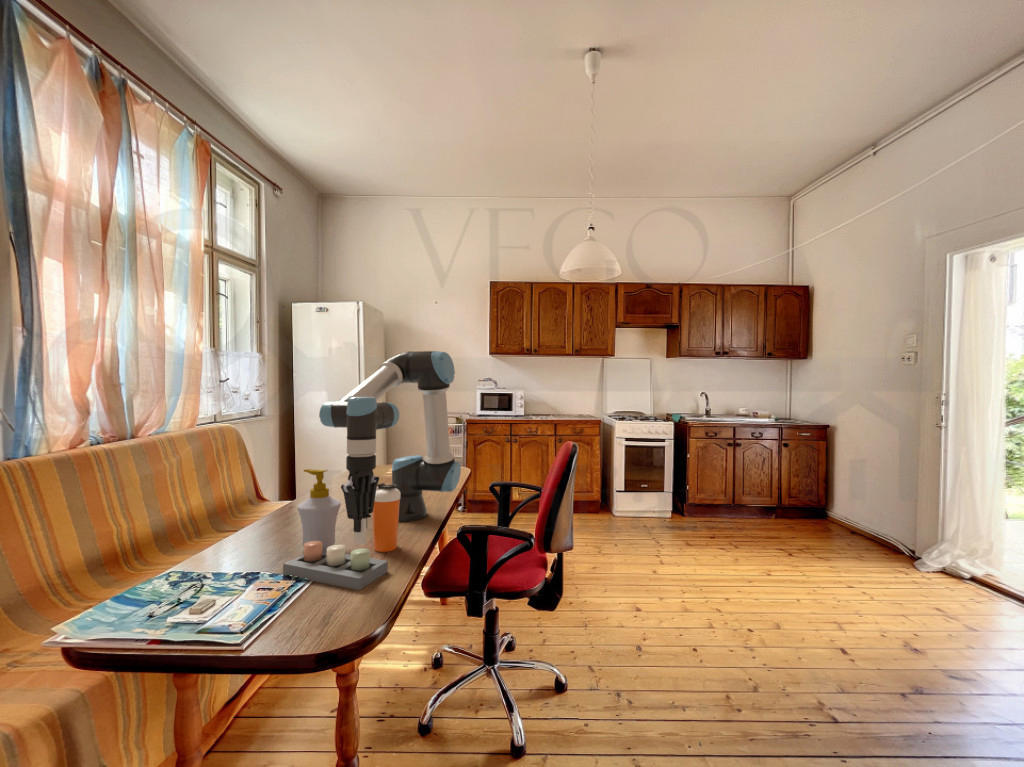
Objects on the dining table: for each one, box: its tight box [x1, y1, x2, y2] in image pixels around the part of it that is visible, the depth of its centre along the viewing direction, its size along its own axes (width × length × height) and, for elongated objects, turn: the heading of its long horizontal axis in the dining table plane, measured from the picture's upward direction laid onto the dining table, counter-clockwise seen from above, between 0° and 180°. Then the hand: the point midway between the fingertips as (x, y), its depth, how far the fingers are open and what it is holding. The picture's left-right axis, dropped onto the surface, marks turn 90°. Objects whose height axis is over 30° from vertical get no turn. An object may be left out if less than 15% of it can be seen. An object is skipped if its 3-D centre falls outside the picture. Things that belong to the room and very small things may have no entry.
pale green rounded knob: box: [350, 548, 371, 570], centre depth 122 cm, size 5×5×4 cm
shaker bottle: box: [372, 482, 400, 553], centre depth 144 cm, size 9×9×20 cm
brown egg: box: [303, 541, 322, 562], centre depth 127 cm, size 5×5×4 cm
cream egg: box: [327, 544, 346, 566], centre depth 125 cm, size 5×5×4 cm
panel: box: [282, 550, 389, 591], centre depth 125 cm, size 12×25×3 cm, turn 70°
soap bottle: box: [296, 468, 342, 550], centre depth 143 cm, size 13×13×25 cm
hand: (360, 542), depth 122 cm, fingers closed
